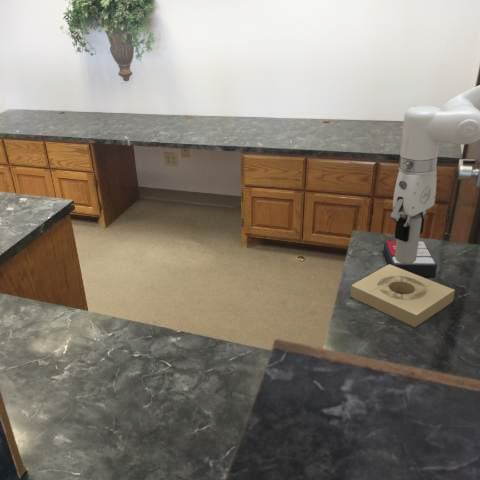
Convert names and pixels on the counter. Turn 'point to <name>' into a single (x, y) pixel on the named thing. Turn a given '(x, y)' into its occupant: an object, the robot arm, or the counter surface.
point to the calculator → (420, 267)
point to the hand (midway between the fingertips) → (408, 235)
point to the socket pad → (402, 305)
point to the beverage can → (409, 242)
